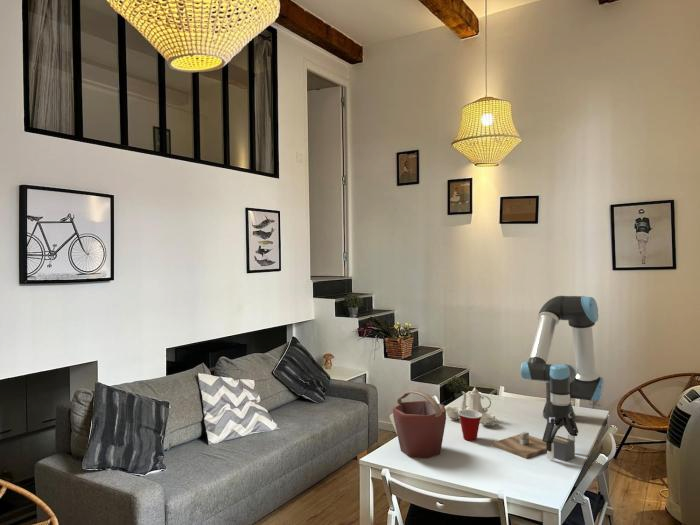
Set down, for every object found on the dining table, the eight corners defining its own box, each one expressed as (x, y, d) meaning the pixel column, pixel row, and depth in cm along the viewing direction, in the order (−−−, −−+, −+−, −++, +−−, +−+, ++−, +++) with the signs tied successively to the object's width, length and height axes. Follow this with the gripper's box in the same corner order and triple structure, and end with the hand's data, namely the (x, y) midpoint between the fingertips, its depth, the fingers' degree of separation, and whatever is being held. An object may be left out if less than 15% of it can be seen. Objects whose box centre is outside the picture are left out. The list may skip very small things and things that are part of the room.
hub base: (522, 436, 244) (522, 423, 244) (557, 448, 229) (556, 434, 229) (492, 445, 233) (492, 432, 233) (526, 458, 218) (525, 444, 218)
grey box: (547, 455, 221) (547, 437, 221) (557, 452, 224) (557, 434, 224) (564, 461, 214) (564, 443, 214) (574, 457, 218) (574, 440, 217)
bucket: (386, 445, 237) (385, 389, 237) (430, 438, 245) (429, 383, 245) (412, 465, 214) (410, 403, 214) (459, 456, 222) (458, 396, 222)
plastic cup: (481, 444, 236) (480, 417, 236) (456, 441, 240) (455, 414, 239) (484, 436, 246) (483, 410, 246) (460, 433, 250) (460, 408, 250)
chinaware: (440, 424, 270) (438, 392, 268) (453, 412, 283) (451, 381, 282) (495, 433, 254) (493, 399, 252) (506, 420, 268) (504, 388, 266)
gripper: (570, 396, 229) (571, 445, 229) (532, 406, 215) (533, 458, 216) (586, 400, 222) (587, 450, 223) (548, 410, 209) (549, 464, 209)
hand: (561, 454), depth 219 cm, fingers open, 13 cm apart
